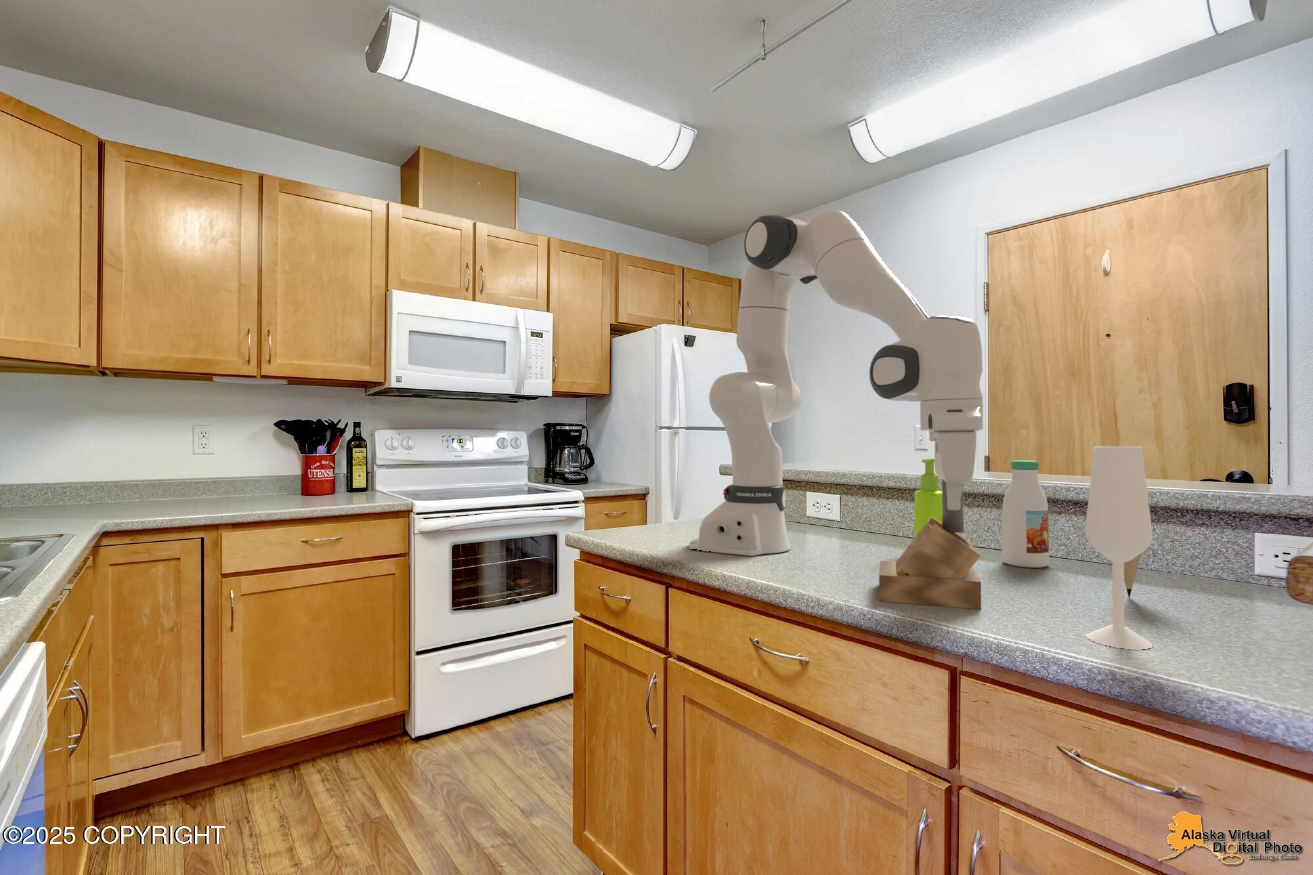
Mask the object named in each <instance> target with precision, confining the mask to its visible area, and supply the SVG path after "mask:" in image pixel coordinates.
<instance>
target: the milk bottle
mask: <svg viewBox="0 0 1313 875" xmlns="http://www.w3.org/2000/svg"><path fill="white" fill-rule="evenodd" d="M1010 468H1011V470H1010V471H1011V473H1012V477H1011V480H1010V484H1009V485H1008V488H1007V490H1006V491H1005V494H1004V496H1003V500H1002V513H1001V517H1002V518H1001V521H1002V523H1001V532H1002V533H1001V542H1002V543H1001V547H1002V554H1001V556H1002V562H1003V563H1004V564H1006V565H1009V566H1015V567H1019V568H1020V567H1021V568H1022V567H1023V568H1031V569H1032V568H1045V567H1048V565H1049V563H1050V543H1049V542H1050V540H1049V539H1050V537H1049V536H1050V534H1049V532H1050V528H1049V527H1050V526H1049V521H1050V520H1049V519H1050V518H1049V505H1048V504H1049V503H1048V500H1047V499H1048V498H1047V496H1046V494H1045V492H1044V490H1043V488H1042V486H1041V483H1040V481H1039V477H1038V473H1039V472H1040V470H1039V468H1040V462H1039V461H1038V460H1028V459H1026V460H1024V459H1021V460H1020V459H1019V460H1018V459H1017V460H1016V459H1015V460H1011V462H1010Z"/></svg>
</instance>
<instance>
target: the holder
mask: <svg viewBox="0 0 1313 875" xmlns="http://www.w3.org/2000/svg"><path fill="white" fill-rule="evenodd" d="M981 556H982V555H981V553H979V552H978V551H977V549H975V544H973V543H972V542H970V541H969V540H967V539H966V538H964V537H963V536H961V535H960V534H959V533H953V532H946V531H945V530H944V529H942V523H940V522H939V521H937V520H936V519H934V518H933V517H931V518H930V519H929V520H928V522H927V523H926V524H925V526H924V527H923V528H922V529H921V531H920V532H919V533H918V535H917V536H916V537H915V536H914V538H913V539H912V541H911V542H910V543H909V545H908V546H907V548H906V549H905V550H904V551H903V552H902V554H901V555H900V556H899V558H898V559H897V560H895V561H889V560H880V561H879V570H878V571H879V572H878V574H879V575H878V586H879V587H878V588H879V589H878V592H879V593H878V598H879V600H878V601H879V602H887V603H888V602H889V603H900V604H910V605H911V604H912V605H913V604H914V605H925V606H938V607H949V608H962V609H963V608H964V609H973V610H975V609H976V610H981V609H982V582H981V579H980V577H979V576H978V574H977V573H976V571H975V569H974V567H973V566H974V565H975V564H976V563H977V561H979V559H980V558H981Z"/></svg>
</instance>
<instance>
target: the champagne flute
mask: <svg viewBox="0 0 1313 875" xmlns="http://www.w3.org/2000/svg"><path fill="white" fill-rule="evenodd" d="M1092 457H1093V458H1092V465H1091V466H1092V468H1091V474H1090V475H1091V476H1090V484H1089V492H1088V502H1087V511H1086V519H1085V520H1086V522H1085V530H1084V534H1085V537H1086V539H1087V540H1088V542H1089V544H1090V545H1091V546H1092V547H1093V548H1094V549H1095V550H1096V551H1097V552H1098V553H1099V554H1101V555H1102V556H1103V557H1104V558H1105V559H1106V560H1109V561H1110V562H1111V563H1112V567H1111V570H1112V571H1111V573H1112V575H1111V576H1112V577H1111V582H1112V583H1111V584H1112V586H1111V588H1112V592H1111V593H1112V596H1111V598H1112V600H1111V602H1112V603H1111V604H1112V607H1111V608H1112V620H1111V621H1112V623H1111V624H1109V625H1107V626H1103V627H1101V628H1099V629H1096V630H1093V631H1090V632H1088V633H1086V634H1085V638H1086V639H1088V640H1089V639H1090V640H1089V641H1091V642H1093V641H1094V642H1093V643H1096V644H1098V643H1099V645H1102V646H1105V645H1107V646H1106V647H1109V646H1111V647H1110V648H1114V647H1115V649H1120V648H1124V649H1123V650H1128V649H1129V650H1130V649H1131V650H1132V651H1143V650H1142V649H1146V650H1149V649H1148V648H1150V649H1152V648H1153V647H1152V646H1153V644H1152V643H1151V642H1150V641H1148V640H1147V639H1145V638H1144V637H1142V636H1141V635H1139V634H1137V633H1136V632H1135V631H1133V630H1131V629H1130V628H1128V627H1126V626H1125V581H1124V563H1125V562H1128V561H1130V560H1132V559H1133V558H1135V557H1136V556H1138V555H1139V554H1140V553H1141V554H1142V553H1143V552H1145V551H1146V549H1148V547H1149V546H1150V545H1151V543H1152V542H1153V538H1154V537H1153V529H1152V528H1153V526H1152V527H1151V525H1152V520H1151V511H1150V504H1149V502H1150V501H1149V495H1148V486H1147V478H1146V470H1145V461H1144V452H1143V447H1142V446H1135V445H1133V446H1132V445H1130V446H1129V445H1128V446H1127V445H1126V446H1123V445H1117V446H1114V445H1112V446H1111V445H1106V446H1105V445H1104V446H1101V445H1100V446H1099V445H1098V446H1097V445H1096V446H1094V447H1093V455H1092ZM1131 650H1130V651H1131Z"/></svg>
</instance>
